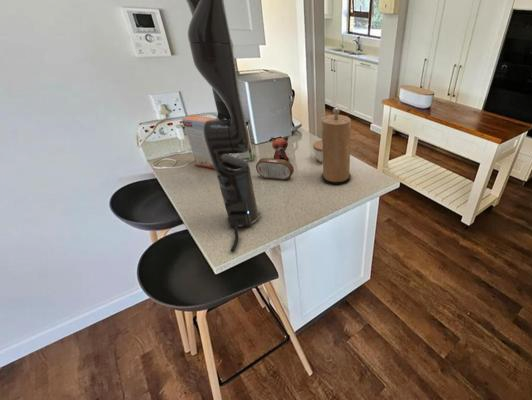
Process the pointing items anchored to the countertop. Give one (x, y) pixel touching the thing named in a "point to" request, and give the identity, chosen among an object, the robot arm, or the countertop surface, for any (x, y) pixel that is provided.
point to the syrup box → (249, 154)
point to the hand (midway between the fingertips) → (236, 144)
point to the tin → (274, 168)
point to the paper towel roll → (336, 148)
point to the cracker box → (198, 139)
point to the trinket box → (318, 150)
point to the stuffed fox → (280, 147)
